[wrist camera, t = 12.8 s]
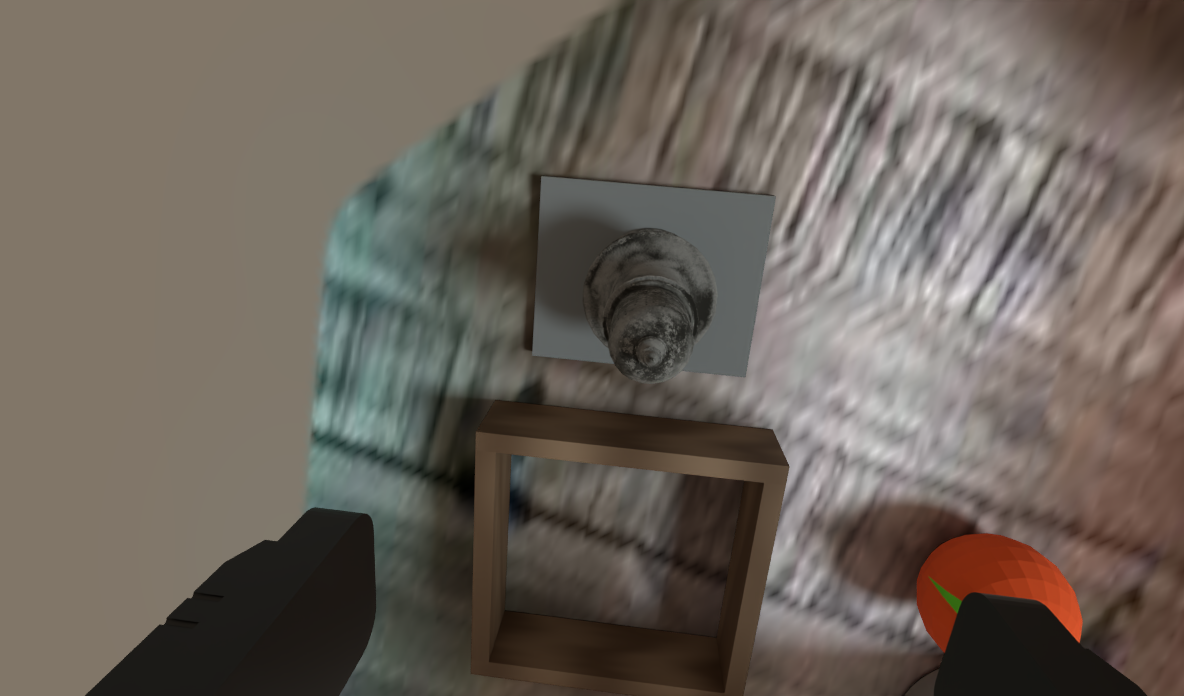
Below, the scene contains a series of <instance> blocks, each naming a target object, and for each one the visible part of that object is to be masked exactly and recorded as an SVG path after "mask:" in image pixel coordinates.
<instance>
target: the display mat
mask: <svg viewBox="0 0 1184 696" xmlns="http://www.w3.org/2000/svg"><path fill="white" fill-rule="evenodd" d="M775 199H776V196H773V195H762V194H750V193H739V192H727V191H715V190H704V189H692V188H680V187H669V186H657V185H645V184H634V183H622V182H610V181H599V180H587V179H575V178H564V177H552V176H541V193H540V213H539V233H538V252H537V272H536V292H535V311H534V331H533V351H532V355H533V356H543V357H553V358H563V359H572V360H582V361H592V362H601V363H611V364H614V362H613V360H612V358H611V356H610V353H609V348H607V347H606V346H605V345H604V344H603V343H602V342H601V341H600V340H599V339H598V338H597V336H596V335H595V334H594V333H593V331H592V329H591V327H590V325H589V323H588V321H587V319H586V316H585V311H584V306H583V287H584V282H585V279H586V276H587V273H588V270H589V268H590V266H591V265H592V263H593V262H594V260H595V259H596V257H597V256H598V254H599V253H600V252H601V251H602V250H604V249H605V248H606V247H607V246H608V245H609V244H611V243H612V242H613V241H615V240H617V239H618V238H619V237H621V236H623V235H625V234H627V233H629V232H631V231H634V230H639V229H644V228H654V229H663V230H665V231H668V232H671V233H674V234H676V235H677V236H679V237H681V238H683V239H685V240H686V241H687V242H689V243H690V244H692V245H693V246H695V247H696V248H697V249H698V250H699V251H700V253H701V254H702V255H703V256H704V257H705V259H706V260H707V261H708V263H709V265H710V267H711V269H712V272H713V274H714V276H715V279H716V286H717V293H718V298H717V306H716V313H715V315H714V318H713V320H712V322H711V325H710V327H709V329H708V330H707V332H706V333H705V334H704V336H703V337H702V338H701V339H700V341H699V342H698V343H697V344H695V345H694V346H693V352H692V355H691V357H690V359H689V362H688V363H687V365H686V366H685V367H684V368H683V370H682V371H689V372H698V373H708V374H718V375H728V376H737V377H746V371H747V365H748V359H749V353H750V347H751V341H752V335H753V330H754V324H755V318H756V312H757V306H758V300H759V294H760V288H761V282H762V276H763V270H764V264H765V258H766V252H767V246H768V240H769V234H770V228H771V222H772V217H773V211H774V205H775Z"/></svg>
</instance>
